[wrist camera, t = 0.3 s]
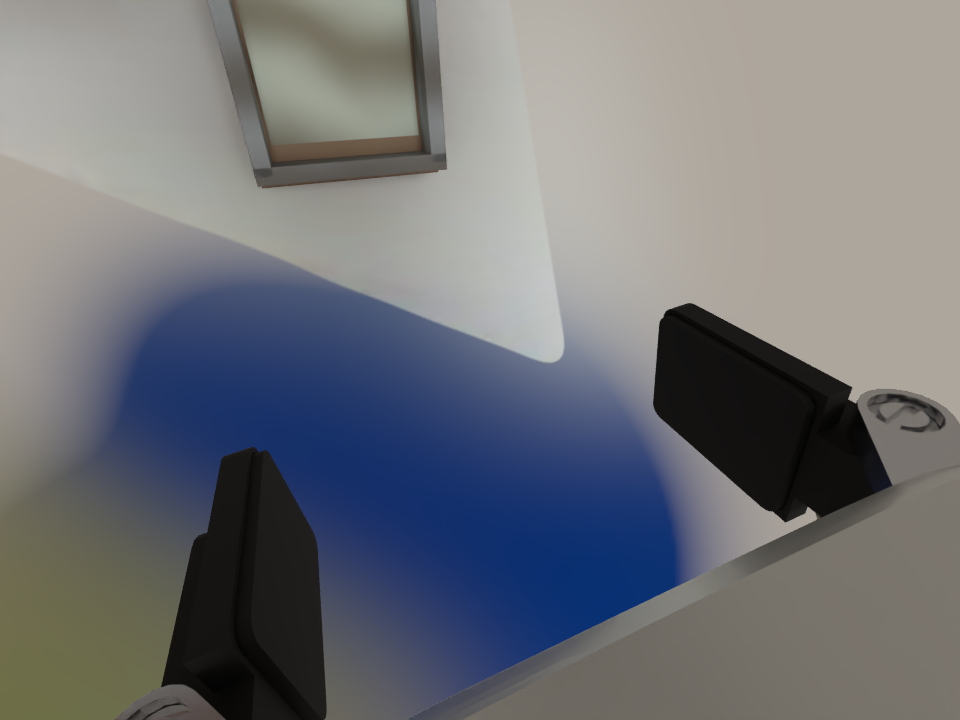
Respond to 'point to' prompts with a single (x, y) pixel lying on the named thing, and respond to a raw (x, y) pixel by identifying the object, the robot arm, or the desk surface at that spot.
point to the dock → (334, 87)
